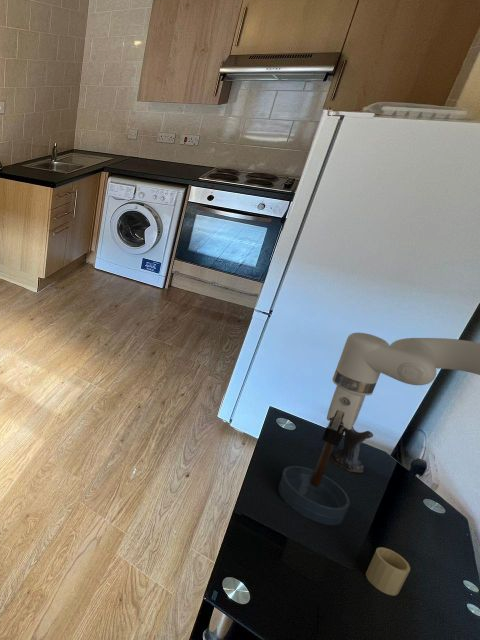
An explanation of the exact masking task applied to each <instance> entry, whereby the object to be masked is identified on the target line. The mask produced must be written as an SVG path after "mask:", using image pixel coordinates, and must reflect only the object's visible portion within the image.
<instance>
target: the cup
mask: <svg viewBox="0 0 480 640" xmlns="http://www.w3.org/2000/svg"><path fill="white" fill-rule="evenodd" d="M410 572H411V566H410V564H409V562H408V561H407V560H406V558H404V557H403V556H402V555H400V554H399V553H398V552H396V551H394V550H392V549H389V548H387V547H383V546H380V547H377V548H376V549H375V551H374V553H373V556H372V558H371V560H370V563H369V565H368V567H367V569H366V570H365V577H366V579H367V581H368V582H369V583H370V584H371V585H372V586H373V587H374V588H375V589H377V590H378V591H380V592H381V593H384V594H386V595H388V596H394V597H395V596H397V595H399V593H400V591H401V589H402V587H403V585H404V584H405V582H406V580H407V577H408V576H409V574H410Z"/></svg>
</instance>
